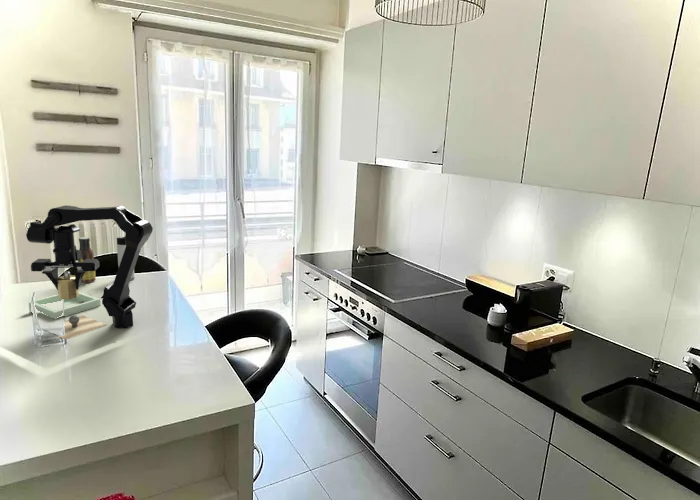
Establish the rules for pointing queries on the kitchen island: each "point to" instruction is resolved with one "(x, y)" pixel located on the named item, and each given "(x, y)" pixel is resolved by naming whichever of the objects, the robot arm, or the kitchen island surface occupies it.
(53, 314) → the bin
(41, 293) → the kitchen island surface
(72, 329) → the stud plate
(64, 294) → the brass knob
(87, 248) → the sauce bottle
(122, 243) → the travel mug
